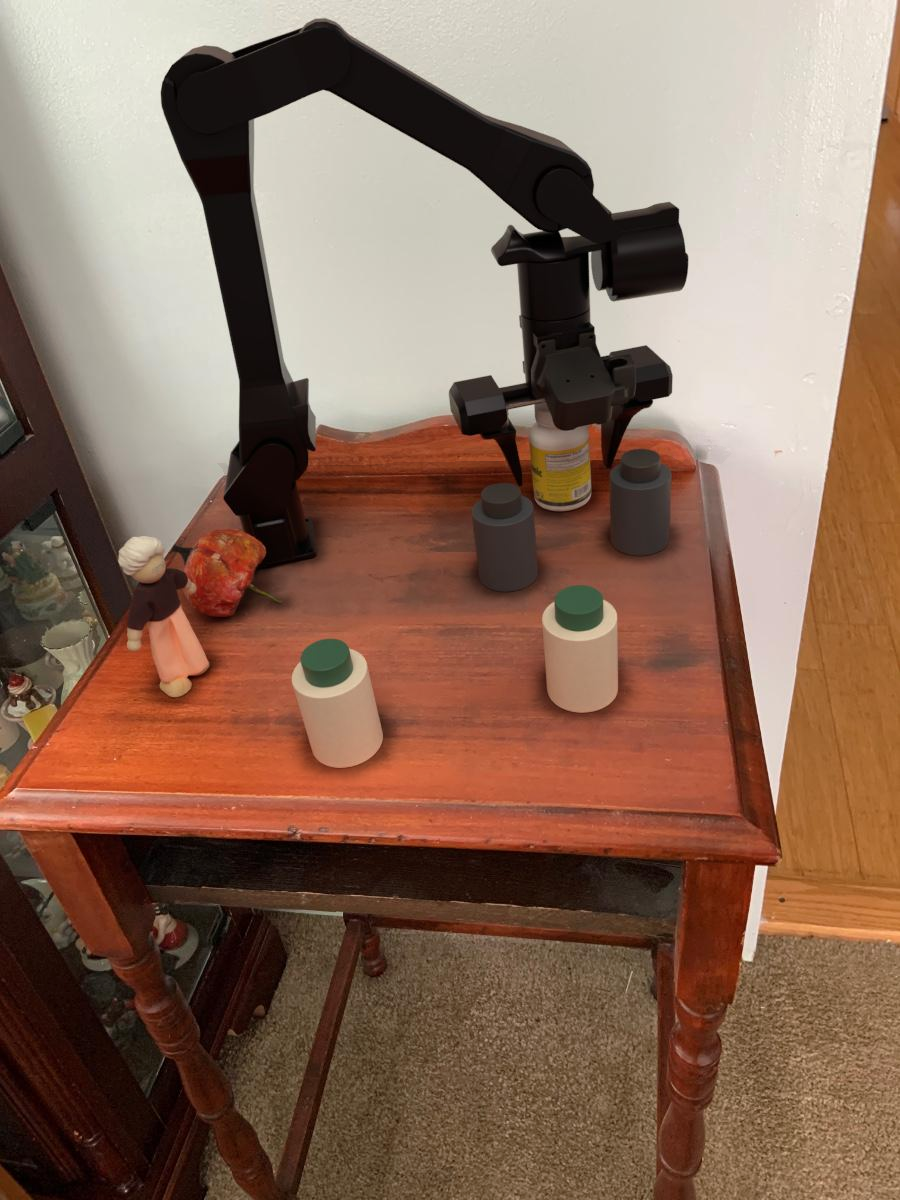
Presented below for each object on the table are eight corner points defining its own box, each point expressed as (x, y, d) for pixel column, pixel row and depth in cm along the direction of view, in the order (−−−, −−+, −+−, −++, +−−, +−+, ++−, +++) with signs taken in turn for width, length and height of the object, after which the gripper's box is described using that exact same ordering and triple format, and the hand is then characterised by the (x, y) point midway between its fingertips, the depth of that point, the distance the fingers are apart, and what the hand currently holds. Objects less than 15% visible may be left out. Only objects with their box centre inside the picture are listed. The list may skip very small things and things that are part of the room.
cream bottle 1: (309, 725, 65) (284, 638, 60) (378, 709, 65) (358, 622, 61) (314, 775, 61) (288, 687, 56) (387, 758, 61) (367, 670, 57)
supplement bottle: (534, 485, 88) (527, 391, 83) (590, 482, 88) (587, 387, 82) (532, 514, 84) (525, 418, 78) (592, 512, 83) (589, 414, 77)
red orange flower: (284, 596, 82) (186, 538, 80) (312, 551, 77) (208, 488, 75) (248, 655, 77) (143, 595, 75) (276, 611, 72) (164, 545, 70)
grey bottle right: (602, 531, 81) (601, 450, 76) (656, 519, 81) (658, 438, 76) (622, 560, 77) (621, 477, 72) (678, 548, 77) (681, 465, 72)
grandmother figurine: (190, 708, 68) (135, 569, 60) (144, 705, 69) (84, 568, 61) (230, 642, 74) (184, 509, 66) (187, 640, 75) (138, 508, 67)
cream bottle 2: (538, 673, 66) (531, 585, 62) (604, 659, 67) (602, 570, 62) (558, 719, 62) (552, 629, 58) (628, 703, 63) (628, 612, 58)
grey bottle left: (473, 564, 79) (463, 484, 74) (529, 553, 79) (523, 472, 74) (486, 597, 75) (477, 514, 70) (545, 584, 75) (539, 501, 70)
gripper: (465, 365, 68) (485, 540, 77) (703, 319, 69) (694, 496, 78) (438, 317, 77) (458, 480, 86) (649, 278, 78) (647, 441, 87)
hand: (563, 475), depth 84 cm, fingers open, 8 cm apart
